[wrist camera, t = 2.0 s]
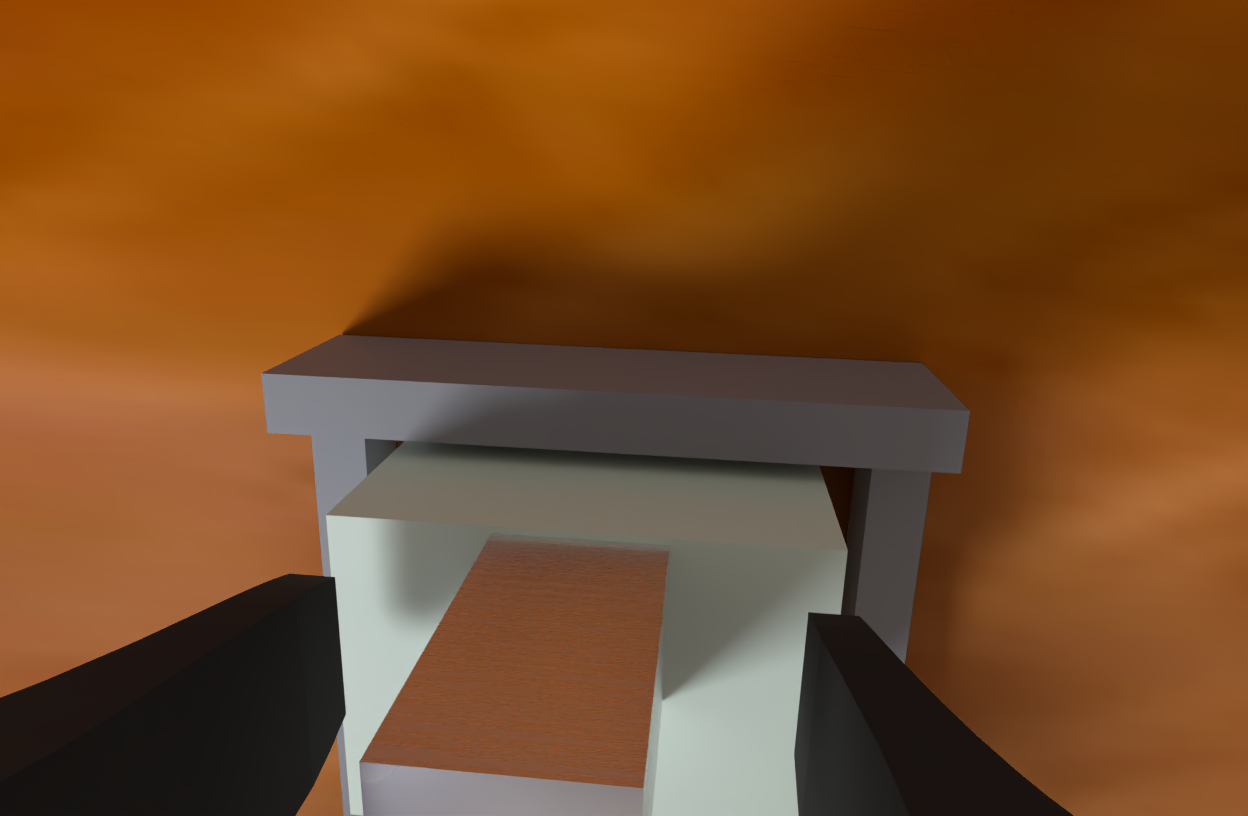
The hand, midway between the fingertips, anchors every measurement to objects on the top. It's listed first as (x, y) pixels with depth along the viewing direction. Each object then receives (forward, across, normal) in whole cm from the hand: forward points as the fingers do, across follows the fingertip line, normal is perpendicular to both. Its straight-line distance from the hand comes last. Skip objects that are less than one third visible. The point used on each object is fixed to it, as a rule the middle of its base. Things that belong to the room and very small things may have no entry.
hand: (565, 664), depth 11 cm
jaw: (+6, 0, +1) cm, 6 cm away
